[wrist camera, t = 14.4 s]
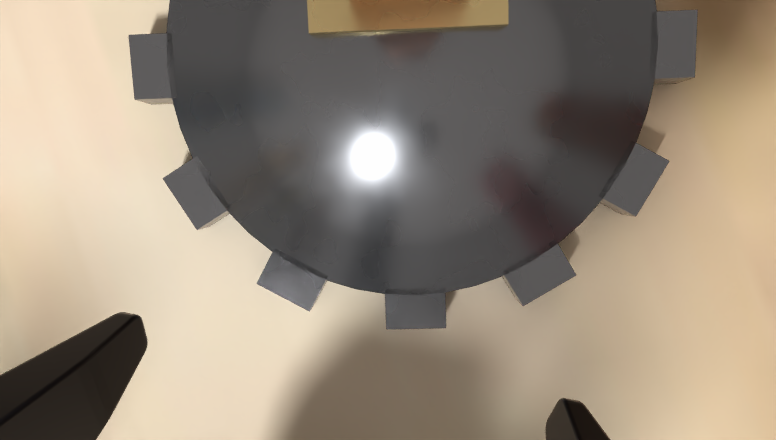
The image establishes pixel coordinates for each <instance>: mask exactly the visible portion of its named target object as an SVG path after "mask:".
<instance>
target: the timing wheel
mask: <svg viewBox="0 0 776 440" xmlns="http://www.w3.org/2000/svg"><path fill="white" fill-rule="evenodd" d="M697 11H698V10H680V11H658V12H657V9H656V3H655V0H170V3H169V13H168V23H167V32H166V33H162V34H139V35H129V45H130V55H131V66H132V77H133V87H134V98H135V100H138V101H142V102H145V103H149V104H172V103H173V104H174V107H175V111H176V115H177V118H178V122H179V125H180V129H181V131H182V134H183V136H184V139H185V141H186V143H187V146H188V148H189V151H190V153H191V155H192V158H193V159H192V160H190V161H188V162H187V163H185V164H184V165H182V166H181V167H179V168H178V169H176V170H175V171H173V172H172V173H170V174H169V175H167V176H166V177H164V178H163V180H164V181H165V183H166V184H167V186H168V187H169V189H170V190H171V192H172V193H173V195H174V196H175V198H176V199H177V201H178V202H179V204H180V205H181V207H182V208H183V210H184V211H185V213H186V214H187V216H188V217H189V219H190V220H191V222H192V223H193V225H194V226H195V228H196V229H197V230H199V229H202V228H206V227H210V226H211V225H213V224H214V223H216V222H217V221H219V220H221V219H222V218H224V217H225V216H227V215H228V214H231V215H232V216H233V217H234V218H235V219H236V220H237V221H238V222H239V223H240V224H241V225H242V226H243V228H244V229H245V230H246V231H247V232H248V233H249V234H251V235H252V236H253V237H254V238H256V239H257V240H258V241H259V242H261V243H262V244H263V245H264V246H266V247H267V248H268V249H269V250H271V251H272V252H273V253H272V254H271V256H270V258H269V260H268V262H267V264H266V266H265V268H264V270H263V272H262V274H261V276H260V278H259V280H258V282H257V284H258V285H260V286H262V287H264V288H266V289H268V290H270V291H272V292H273V293H275V294H277V295H279V296H281V297H283V298H285V299H287V300H289V301H291V302H293V303H294V304H296V305H298V306H300V307H302V308H304V309H306V310H308V311H310V310H311V309H312V307H313V306H314V304H315V302H316V300H317V299H318V297H319V295H320V293H321V291H322V289H323V287H324V285H325V283H326V282H327V281H330V282H334V283H337V284H340V285H344V286H347V287H350V288H354V289H358V290H364V291H370V292H376V293H382V294H385V306H386V329H423V328H446V302H445V292H449V291H454V290H458V289H463V288H468V287H472V286H476V285H479V284H482V283H484V282H487V281H490V280H493V279H496V278H498V277H501V276H502V277H503V279H504V280H505V282H506V283H507V285H508V287H509V288H510V290H511V292H512V293H513V295H514V297H515V298H516V299H517V300H518V301H519V302H520V303H521V304H522V306H524V305H526V304H528V303H529V302H531V301H533V300H534V299H536V298H538V297H540V296H541V295H543V294H545V293H546V292H548V291H550V290H552V289H553V288H555V287H557V286H558V285H560V284H562V283H564V282H565V281H567V280H569V279H570V278H572V277H574V276H576V274H575V272H574V270H573V269H572V267H571V265H570V264H569V262H568V260H567V259H566V257H565V255H564V253H563V252H562V250H561V248H560V247H559V245H558V243H559V242H560V241H562V240H563V239H564V238H565V237H566V236H567V235H568V234H569V233H571V232H572V231H573V230H574V229H575V228H576V227H577V226H579V225H580V224H581V223H582V222H583V221H584V220H585V218H586V217H587V216H588V215H589V214H590V213H591V212H592V211H593V209H594V208H595V207H596V206H597V205H598V204H599V203H602V204H604V205H605V206H607V207H609V208H611V209H613V210H615V211H617V212H618V213H620V214H624V215H630V216H636V215H637V214H638V212H639V211H640V209H641V207H642V206H643V204H644V202H645V201H646V199H647V197H648V196H649V194H650V192H651V191H652V189H653V187H654V186H655V184H656V182H657V181H658V179H659V178H660V176H661V174H662V173H663V171H664V169H665V168H666V166H667V164H668V163H669V161H668V160H667V159H665V158H663V157H661V156H659V155H657V154H656V153H654V152H652V151H650V150H648V149H646V148H645V147H643V146H641V145H639V144H637V143H636V142H637V139H638V136H639V134H640V131H641V128H642V125H643V122H644V120H645V117H646V114H647V111H648V107H649V103H650V98H651V94H652V89H653V85H654V84H676V83H679V82H682V81H685V80H688V79H691V78H694V77H695V61H696V36H697Z"/></svg>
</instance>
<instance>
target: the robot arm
mask: <svg viewBox="0 0 776 440" xmlns="http://www.w3.org/2000/svg"><path fill="white" fill-rule="evenodd" d="M146 348H147V336H146V333H145V329H144V325H143V321H142V318H141V317H140V316H139V315H135V314H130V313H125V312H120V313H117V314H115V315H113V316H111V317H109V318H107V319H105V320H103V321H102V322H100V323H98V324H96V325H94V326H92V327H90V328H88V329H86V330H85V331H83V332H81V333H79V334H77V335H75V336H73V337H71V338H69V339H68V340H66V341H64V342H62V343H60V344H58V345H56V346H54V347H53V348H51V349H49V350H47V351H45V352H43V353H41V354H39V355H37V356H36V357H34V358H32V359H30V360H28V361H26V362H24V363H22V364H20V365H19V366H17V367H15V368H13V369H11V370H9V371H7V372H5V373H4V374H2V375H0V440H96V439H97V437H98V436H99V434H100V433H101V431H102V430H103V428H104V426H105V425H106V423H107V422H108V420H109V419H110V417H111V415H112V413H113V411H114V410H115V408H116V406H117V404H118V402H119V400H120V398H121V397H122V395H123V393H124V391H125V389H126V387H127V385H128V383H129V381H130V380H131V378H132V376H133V374H134V372H135V370H136V368H137V366H138V364H139V363H140V361H141V359H142V357H143V355H144V353H145V351H146ZM546 440H610V438H609V437H608V436H607V434H606V433H605V432H604V430H603V429H602V428H601V426H600V425H599V424H598V422H597V421H596V420H595V418H594V417H593V416H592V414H591V413H590V412H589V410H588V409H587V408H586V406H585V405H584V404H583V403H581V402H580V401H576V400H571V399H566V398H562V399H560V400H559V401H558V402H557V404H556V406H555V407H554V409H553V411H552V413H551V414H550V416H549V418H548V420H547V423H546Z"/></svg>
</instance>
